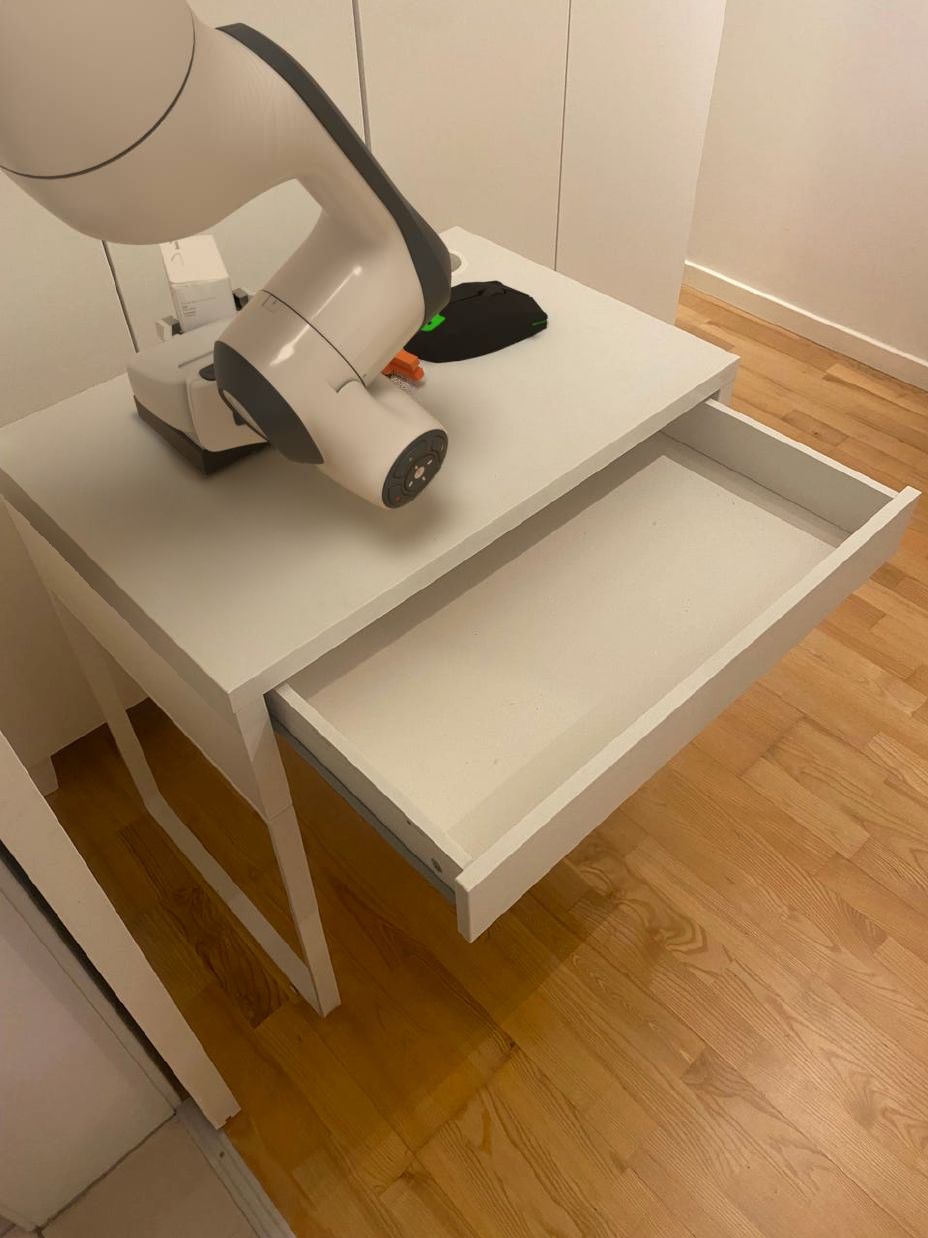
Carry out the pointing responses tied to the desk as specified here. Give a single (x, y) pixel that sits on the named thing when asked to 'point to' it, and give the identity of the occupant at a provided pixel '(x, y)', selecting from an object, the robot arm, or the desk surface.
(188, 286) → the ink box
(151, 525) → the desk surface
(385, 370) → the orange toy bird
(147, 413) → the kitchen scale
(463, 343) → the computer mouse
